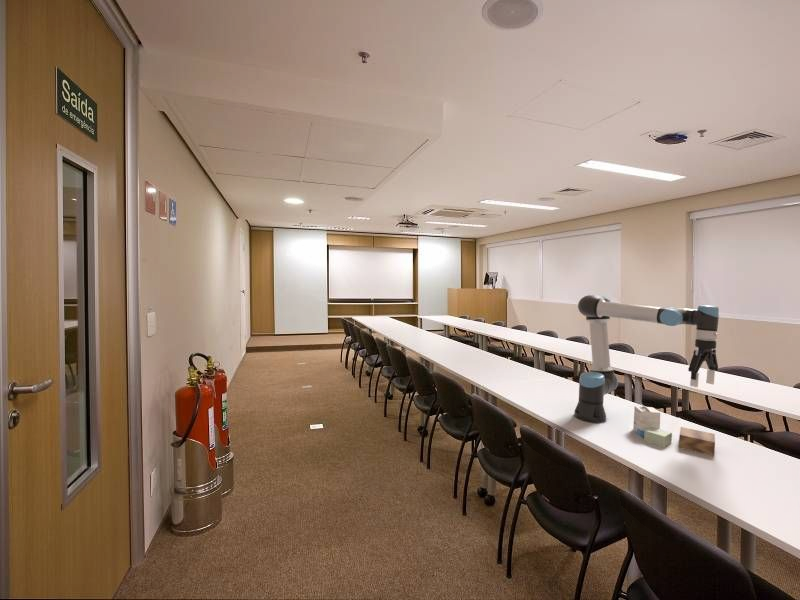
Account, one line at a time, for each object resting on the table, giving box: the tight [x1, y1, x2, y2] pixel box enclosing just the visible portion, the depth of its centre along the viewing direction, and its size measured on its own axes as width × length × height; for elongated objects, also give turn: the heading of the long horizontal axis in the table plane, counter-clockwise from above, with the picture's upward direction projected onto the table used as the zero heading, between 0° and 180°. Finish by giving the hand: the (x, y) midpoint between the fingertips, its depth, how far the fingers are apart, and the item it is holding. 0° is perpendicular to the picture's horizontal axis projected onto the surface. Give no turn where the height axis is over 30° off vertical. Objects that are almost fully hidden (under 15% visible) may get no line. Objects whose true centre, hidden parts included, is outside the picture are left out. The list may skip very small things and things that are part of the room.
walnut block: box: [678, 426, 716, 457], centre depth 168 cm, size 12×12×6 cm
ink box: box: [632, 403, 661, 437], centre depth 182 cm, size 9×8×13 cm
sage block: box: [643, 427, 673, 448], centre depth 172 cm, size 8×8×5 cm
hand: (702, 385), depth 176 cm, fingers open, 13 cm apart
